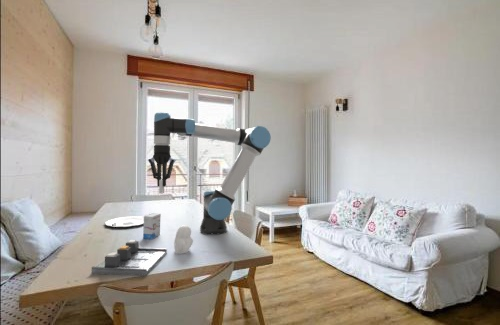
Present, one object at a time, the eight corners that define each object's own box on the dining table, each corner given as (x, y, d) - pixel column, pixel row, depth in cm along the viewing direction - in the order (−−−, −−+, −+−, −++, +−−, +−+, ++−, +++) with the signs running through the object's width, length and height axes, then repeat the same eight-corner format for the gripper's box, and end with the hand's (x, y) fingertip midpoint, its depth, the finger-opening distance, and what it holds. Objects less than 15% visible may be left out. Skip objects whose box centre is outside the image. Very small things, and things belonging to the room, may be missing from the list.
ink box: (151, 239, 134) (151, 216, 134) (142, 238, 135) (142, 215, 135) (160, 234, 143) (160, 213, 142) (152, 234, 144) (152, 212, 143)
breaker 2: (130, 257, 107) (130, 245, 107) (127, 259, 104) (127, 248, 104) (121, 256, 107) (121, 245, 107) (117, 259, 104) (117, 248, 104)
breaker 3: (138, 250, 115) (138, 239, 115) (135, 252, 112) (135, 242, 112) (129, 249, 115) (129, 239, 115) (125, 252, 112) (125, 241, 112)
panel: (166, 253, 116) (166, 248, 116) (145, 275, 95) (145, 269, 95) (122, 252, 117) (122, 247, 117) (91, 273, 96) (91, 267, 96)
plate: (154, 225, 161) (154, 222, 161) (108, 232, 146) (108, 228, 146) (144, 217, 181) (144, 214, 181) (102, 222, 167) (102, 219, 167)
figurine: (182, 255, 114) (183, 228, 114) (170, 252, 118) (170, 225, 118) (194, 250, 120) (194, 224, 120) (182, 247, 124) (182, 222, 124)
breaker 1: (119, 264, 100) (119, 252, 100) (115, 268, 97) (115, 255, 97) (109, 264, 100) (109, 252, 100) (104, 267, 97) (104, 255, 97)
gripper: (177, 145, 133) (177, 192, 133) (152, 144, 133) (151, 191, 134) (172, 144, 125) (172, 194, 126) (145, 144, 126) (145, 193, 126)
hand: (161, 193), depth 130 cm, fingers closed
